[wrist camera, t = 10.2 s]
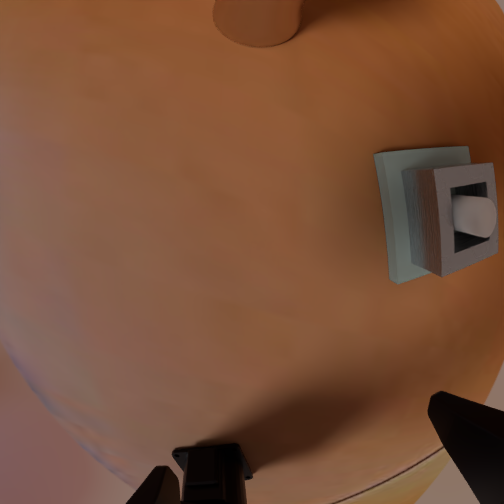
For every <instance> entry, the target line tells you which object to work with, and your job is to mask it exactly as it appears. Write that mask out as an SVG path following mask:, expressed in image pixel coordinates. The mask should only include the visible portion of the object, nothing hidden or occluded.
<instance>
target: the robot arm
mask: <svg viewBox="0 0 504 504" xmlns="http://www.w3.org/2000/svg"><path fill="white" fill-rule="evenodd" d="M428 416H429V418H430V420H431V422H432V424H433V426H434V428H435V430H436V432H437V434H438V436H439V438H440V440H441V442H442V444H443V446H444V447H445V449H446V451H447V452H448V454H449V455H450V457H451V458H452V460H453V461H454V463H455V464H456V466H457V467H458V469H459V470H460V472H461V474H462V475H463V477H464V478H465V480H466V481H467V483H468V485H469V486H470V488H471V489H472V491H473V493H474V494H475V496H476V498H477V499H478V501H479V502H480V504H504V411H501V410H498V409H495V408H491V407H488V406H485V405H482V404H479V403H476V402H473V401H470V400H467V399H464V398H461V397H458V396H455V395H453V394H450V393H447V392H444V391H439V392H437V393H435V394H433V395H432V396H431V398H430V402H429V406H428ZM172 456H173V458H174V459H175V461H176V462H177V464H178V465H179V466H180V468H181V469H182V470H183V472H184V476H183V486H182V498H181V501H180V489H179V480H178V478H177V476H176V475H175V474H174V472H173V471H172V470H171V469H170V467H169V466H156V467H155V468H154V469H153V470H152V472H151V473H150V474H149V475H148V477H147V478H146V479H145V480H144V482H143V483H142V484H141V485H140V487H139V488H138V489H137V490H136V492H135V493H134V494H133V496H132V497H131V498H130V499H129V500H128V501H127V503H126V504H247V499H246V489H245V480H249V479H252V478H253V474H252V472H251V470H250V468H249V466H248V463H247V461H246V459H245V457H244V455H243V452H242V450H241V448H240V446H239V445H238V444H227V445H220V446H212V447H203V448H193V449H180V450H173V451H172Z"/></svg>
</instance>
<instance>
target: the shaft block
mask: <svg viewBox="0 0 504 504" xmlns="http://www.w3.org/2000/svg"><path fill="white" fill-rule="evenodd" d="M373 155H374V160H375V165H376V171H377V176H378V182H379V188H380V194H381V201H382V208H383V215H384V223H385V232H386V242H387V252H388V265H389V279H390V280H391V281H393V282H395V283H396V284H400V283H403V282H406V281H409V280H412V279H415V278H418V277H421V276H423V275H426V274H429V273H432V272H430V271H427V270H425V269H423V268H421V267H419V266H416V265H414V264H412V263H411V251H410V238H409V227H408V217H407V209H406V201H405V194H404V187H403V181H402V175H401V171H404V170H411V169H418V168H426V167H434V166H442V165H450V164H459V163H471V159H470V153H469V148H468V146H457V147H439V148H425V149H412V150H401V151H392V152H382V153H377V154H373ZM450 192H451V202H452V213H453V227H454V233H457V232H459V231H460V232H464V233H468V234H472V235H476V236H480V237H484V238H486V237H489V236H490V235H491V234H492V232H493V230H494V228H495V225H496V208H495V205H494V203H493V202H492V200H491V199H489V198H483V197H474V196H464V195H456V192H455V187H453V188H450Z"/></svg>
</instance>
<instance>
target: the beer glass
mask: <svg viewBox="0 0 504 504" xmlns="http://www.w3.org/2000/svg"><path fill="white" fill-rule="evenodd" d="M304 3H305V0H215V3H214V7H213V21H214V23H215V25H216V27H217V28H218V30H219V31H220V32H221V33H222V34H223V35H224V36H226V37H227V38H229V39H230V40H232V41H234V42H237V43H239V44H243V45H247V46H253V47H268V46H274V45H278V44H281V43H283V42H285V41H287V40H289V39H290V38H291V37H292V36H294V35H295V34H296V32H297V31H298V29H299V27H300V24H301V20H302V13H303V6H304Z"/></svg>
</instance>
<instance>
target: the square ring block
mask: <svg viewBox="0 0 504 504" xmlns="http://www.w3.org/2000/svg"><path fill="white" fill-rule="evenodd" d="M401 175H402V181H403V187H404V194H405V201H406V209H407V217H408V227H409V238H410V251H411V263H412V264H414V265H416V266H419V267H421V268H423V269H425V270H427V271H430V272H432V273H434V274H436V275H438V276H440V277H443V276H446V275H448V274H450V273H453V272H455V271H458V270H460V269H463V268H465V267H467V266H470V265H472V264H474V263H476V262H479V261H481V260H483V259H485V258H488V257H490V256H492V255H494V254H496V253H498V209H497V194H496V183H495V175H494V167H493V163H459V164H450V165H442V166H434V167H426V168H418V169H411V170H404V171H401ZM453 187H455V192H456V195H464V196H474V197H483V198H489V199H491V200H492V202H493V203H494V205H495V208H496V225H495V228H494V230H493V232H492V234H491V235H490V236H489V237H486V238H484V237H480V236H476V235H472V234H468V233H464V232H460V231H459V232H457V233H454V227H453V213H452V202H451V192H450V188H453Z"/></svg>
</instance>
